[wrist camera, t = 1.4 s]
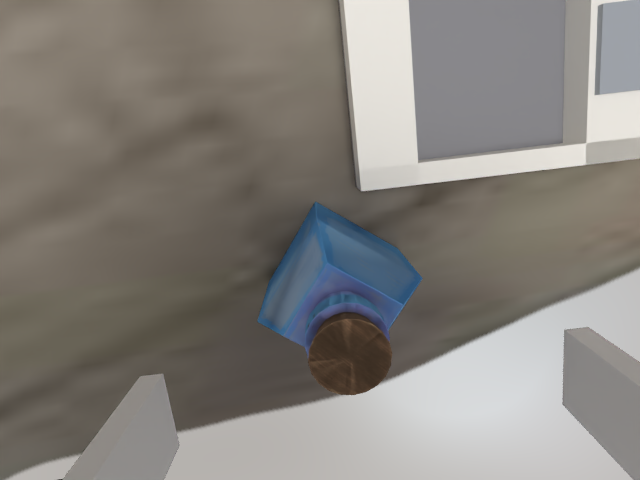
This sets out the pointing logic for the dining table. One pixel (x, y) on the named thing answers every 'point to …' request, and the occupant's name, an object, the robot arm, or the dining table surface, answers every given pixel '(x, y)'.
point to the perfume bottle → (339, 300)
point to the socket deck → (488, 87)
